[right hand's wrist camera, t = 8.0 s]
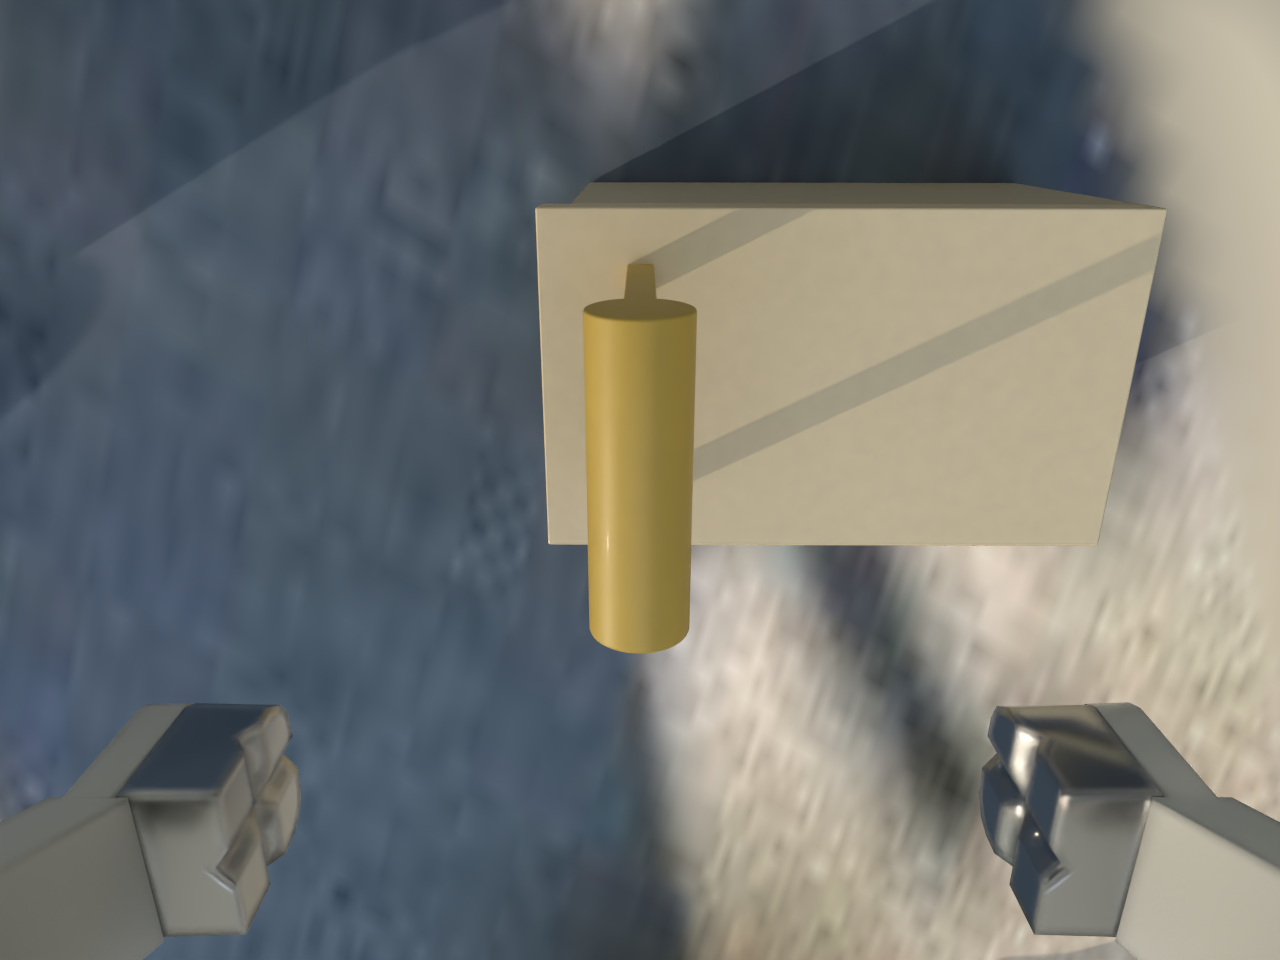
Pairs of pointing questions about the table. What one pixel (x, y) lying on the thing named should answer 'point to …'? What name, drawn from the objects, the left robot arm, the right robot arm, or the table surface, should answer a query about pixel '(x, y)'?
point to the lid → (828, 381)
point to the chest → (830, 194)
